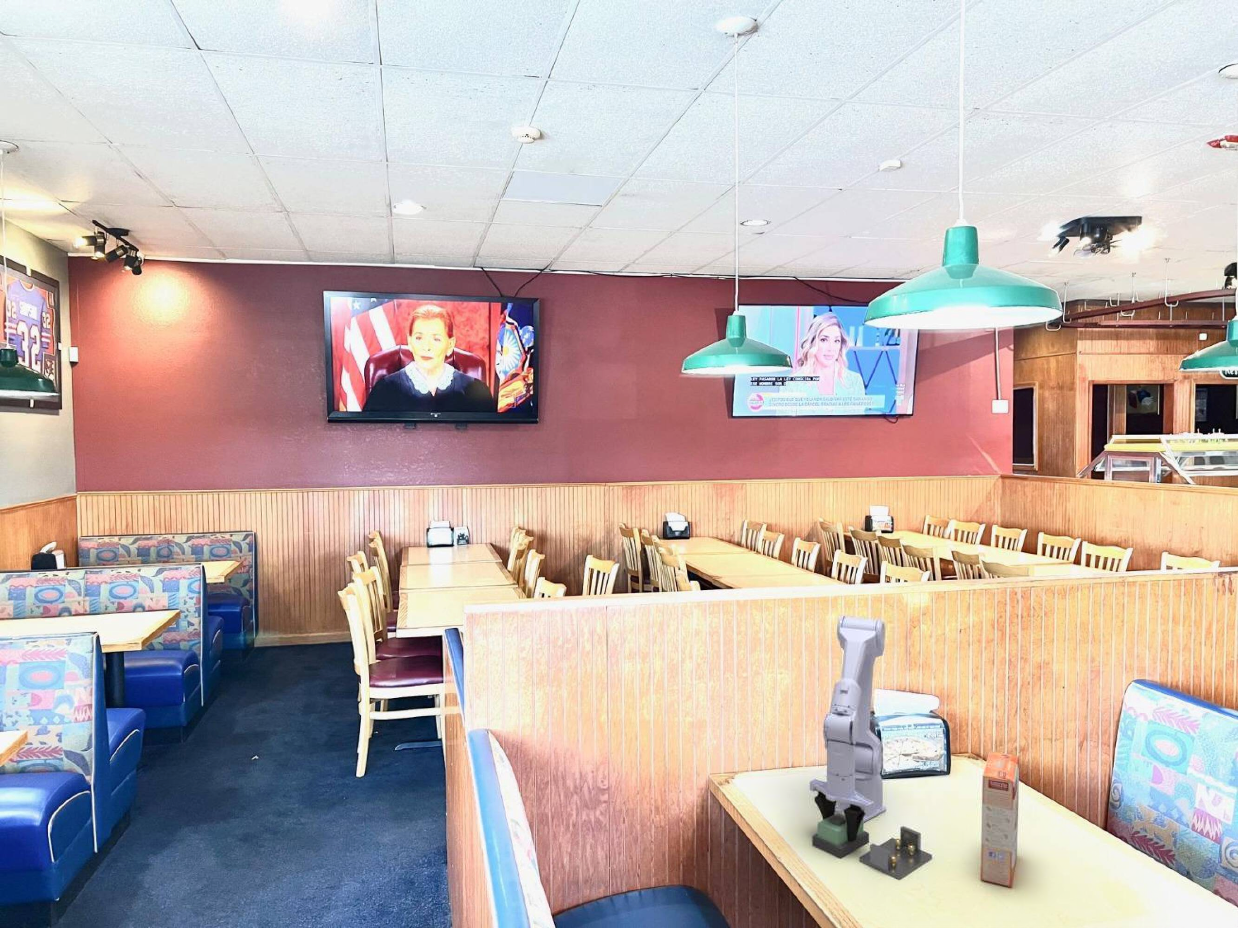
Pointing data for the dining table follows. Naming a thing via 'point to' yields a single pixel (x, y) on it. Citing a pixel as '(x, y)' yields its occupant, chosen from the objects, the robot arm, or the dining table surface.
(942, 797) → the dining table surface
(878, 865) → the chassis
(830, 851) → the pad
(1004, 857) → the cracker box
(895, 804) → the dining table surface
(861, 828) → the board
